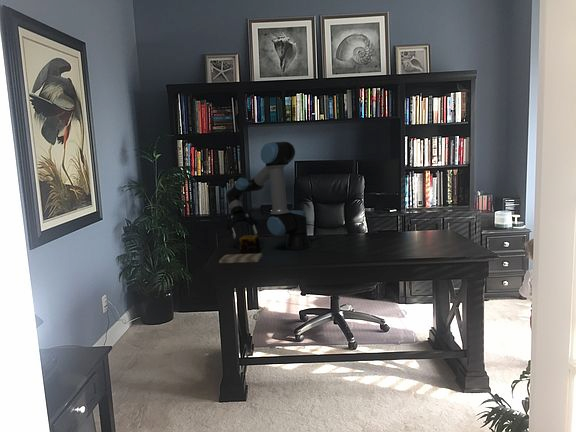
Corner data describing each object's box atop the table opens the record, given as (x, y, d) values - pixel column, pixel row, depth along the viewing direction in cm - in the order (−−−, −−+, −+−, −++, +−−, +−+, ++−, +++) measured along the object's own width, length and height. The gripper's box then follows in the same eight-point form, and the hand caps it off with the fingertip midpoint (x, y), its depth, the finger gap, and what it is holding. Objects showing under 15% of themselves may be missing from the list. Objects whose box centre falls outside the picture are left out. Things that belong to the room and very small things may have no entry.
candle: (256, 254, 293) (255, 238, 291) (240, 255, 295) (238, 238, 294) (260, 250, 303) (259, 234, 301) (244, 251, 305) (243, 235, 303)
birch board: (262, 255, 289) (262, 253, 289) (257, 261, 275) (257, 259, 275) (225, 257, 292) (225, 254, 292) (219, 263, 278) (219, 260, 278)
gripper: (254, 210, 321) (263, 236, 309) (216, 215, 312) (225, 242, 300) (256, 203, 315) (266, 229, 304) (218, 207, 306) (226, 235, 295)
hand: (245, 236), depth 302 cm, fingers open, 13 cm apart
